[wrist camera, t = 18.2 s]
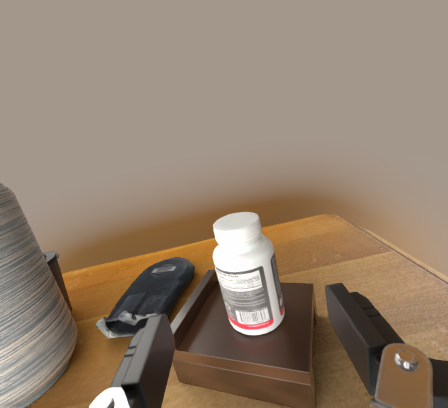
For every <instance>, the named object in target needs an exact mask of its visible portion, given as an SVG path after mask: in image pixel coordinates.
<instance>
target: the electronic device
mask: <svg viewBox="0 0 448 408" xmlns="http://www.w3.org/2000/svg"><path fill="white" fill-rule="evenodd" d="M194 268H195V267H194V265H193V264H192V263H191V262H190V261H188V260H187V259H185V258H180V257H174V258H170V259H167V260H163V261H161V262H158V263H156V264H154V265H152V266H150V267H148V268H147V269H146V270H144V271H143V272H142V273H141V274H140V275H139V277H138V278H137V279H136V280H135V281H134V282H133V283H132V284H131V286H130V287H129V288H128V290H127V291H126V292H125V293H124V295H123V296H122V297H121V299H120V300H119V301H118V303H117V304H116V306H115V308H114V309H113V310H112V312H111V314H110V315H109V316H108V318H105V317H103V318H102V319H101V320H99V321H97V322H96V327H97V328H98V329H99V330H100V331H101V332H103V333H104V334H105V335H106V336H107V338H115V337H124V336H134V335H135V334H136V333H137V332H138V331H139V330H140V329H141V328H145V325H146V323H147V321H148V318H149V317H150V316H153V315H159V314H166V315H167V318H168V316H169V314H170V312H171V311H172V309H173V307H174V305H175V304H176V302H177V301H178V298H179V296H180V295H181V293H182V291H183V289H184V288H185V287H186V286H187V285H188V284H189V283H190V281H191V279H192V278H193V276H194V270H195V269H194Z"/></svg>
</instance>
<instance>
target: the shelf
mask: <svg viewBox="0 0 448 408" xmlns="http://www.w3.org/2000/svg"><path fill="white" fill-rule="evenodd" d="M280 287H281V292H282V297H283V302H284V309H285V314H284V318H283V320H282V321H281V323H280V324H279V325H278V326H277V327H276V328H275V329H274V330H272V331H270V332H268V333H265V334H261V335H247V334H243V333H241V332H239V331H237V330H236V329H234V328H233V326H232V325H231V323H230V321H229V317H228V314H227V310H226V307H225V303H224V300H223V296H222V292H221V288H220V284H219V281H218V278H217V274H216V270H208V271H207V273H206V274H205V276H204V277H203V279H202V280H201V281H200V283H199V284H198V286H197V287H196V289H195V290H194V291H193V293H192V294H191V296H190V297H189V299H188V300H187V301H186V303H185V304H184V306H183V307H182V309H181V310H180V311H179V313H178V314H177V316H176V317H175V319H174V320H173V322H172V323H171V324H170V326H171V329H172V332H173V335H174V339H175V352H174V356H173V360H172V363H173V366H174V368H175V371H176V374H177V377H178V380H179V382H182V383H186V384H191V385H195V386H200V387H204V388H208V389H213V390H217V391H222V392H226V393H231V394H235V395H239V396H244V397H248V398H253V399H257V400H261V401H266V402H270V403H275V404H279V405H284V406H288V407H292V408H316V388H315V382H314V376H313V369H312V346H313V325H317V309H316V302H315V294H314V287H313V284H306V283H280Z"/></svg>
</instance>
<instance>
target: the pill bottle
mask: <svg viewBox="0 0 448 408" xmlns="http://www.w3.org/2000/svg"><path fill="white" fill-rule="evenodd" d="M213 229H214V234H215V238H216V240H217V243H218V245H217V247H216V248H215V250H214V252H213V262H214V266H215V269H216V273H217V277H218V281H219V284H220V288H221V292H222V296H223V300H224V303H225V307H226V310H227V314H228V317H229V321H230V323H231V325H232V326H233V328H234V329H236V330H237V331H239V332H241V333H243V334H247V335H261V334H265V333H268V332H270V331H272V330H274V329H275V328H276V327H277V326H278V325H279V324H280V323H281V321H282V320H283V318H284V314H285V309H284V302H283V297H282V292H281V287H280V281H279V276H278V270H277V265H276V260H275V253H274V248H273V245H272V243H271V241H270V240H269V239H268V238H267V237H266V236H264V235H262V227H261V224H260V219H259V216H258V215H257V214H255V213H252V212H239V213H234V214H230V215H227V216H224V217H222V218H220V219H219V220H217V221H216V222H215V223H214V225H213Z"/></svg>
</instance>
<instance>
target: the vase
mask: <svg viewBox="0 0 448 408" xmlns="http://www.w3.org/2000/svg"><path fill="white" fill-rule="evenodd" d="M77 337H78V329H77V324H76V322H75V320H74V318H73V316H72V314H71V312H70V310H69V308H68V306H67V303H66V301H65V299H64V297H63V295H62V293H61V291H60V289H59V287H58V285H57V282H56V280H55V278H54V276H53V274H52V272H51V270H50V268H49V266H48V264H47V261H46V259H45V257H44V255H43V253H42V251H41V249H40V247H39V245H38V243H37V240H36V238H35V237H34V234H33V232H32V230H31V228H30V226H29V224H28V222H27V219H26V217H25V215H24V213H23V211H22V209H21V207H20V205H19V203H18V201H17V199H16V196H15V194H14V193H13V192H12V191H11V190H10V189H9V188H8V187H6V186H5V185H3V184H1V183H0V408H25V407H27V406H28V405H30V404H31V403H33V402H34V401H35V400H37V399H38V398H39V397H41V396H42V395H43V394H44V393H46V392H47V391H48V390H49V389H50V388H51V387H52V386H53V385H54V384H55V383H56V382H57V381H58V379H59V378H60V377H61V376H62V374H63V373H64V372H65V370H66V369H67V367H68V365H69V363H70V361H71V357H72V353H73V351H74V348H75V346H76V342H77Z"/></svg>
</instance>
